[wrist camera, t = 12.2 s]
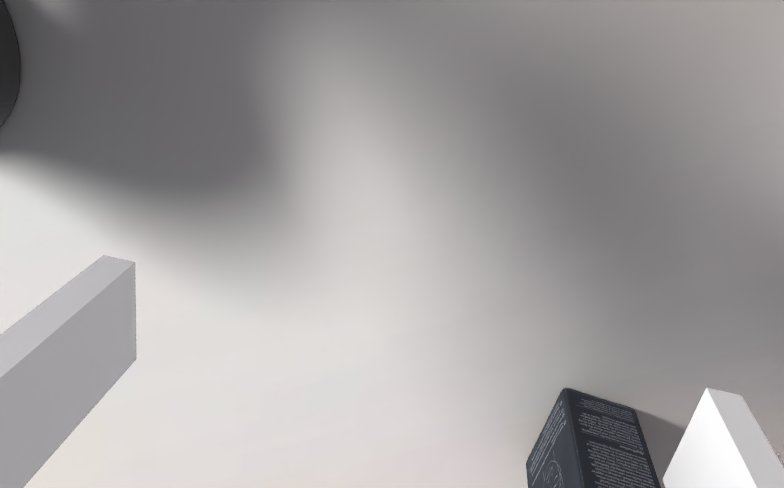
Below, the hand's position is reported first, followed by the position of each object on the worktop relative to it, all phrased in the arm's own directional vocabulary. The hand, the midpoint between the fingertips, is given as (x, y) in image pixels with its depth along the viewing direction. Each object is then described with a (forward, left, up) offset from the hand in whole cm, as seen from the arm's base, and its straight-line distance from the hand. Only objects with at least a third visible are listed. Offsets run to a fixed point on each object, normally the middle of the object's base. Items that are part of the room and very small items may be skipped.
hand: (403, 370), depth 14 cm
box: (+14, -22, -27) cm, 38 cm away
